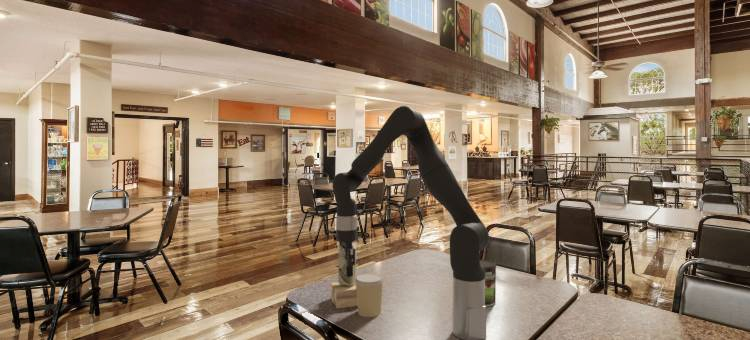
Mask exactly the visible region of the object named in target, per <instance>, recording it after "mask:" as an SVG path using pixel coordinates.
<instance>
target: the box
mask: <svg viewBox="0 0 750 340" xmlns="http://www.w3.org/2000/svg"><path fill="white" fill-rule="evenodd" d="M353 248H354V249H355V265H353V276H349V277H348V276H347V275H346V260H344V254H343V252H342V248H339V249H338V276H337V278H338V281H337V282H338V283H339V284H343V285H348V286H350V285H352V284H353V283H355V280H356V278H357V276H356V273H357V271H356V262H357V256H356V255H357V254H356V253H357V248H356V247H353ZM346 257H348V255H347V256H346ZM350 262H351V259H350Z"/></svg>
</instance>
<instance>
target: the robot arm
mask: <svg viewBox="0 0 750 340" xmlns="http://www.w3.org/2000/svg"><path fill="white" fill-rule="evenodd" d="M401 136H405V137H406V138H407V140H408V141H409V143H410V145H411V147H412V148H413V151H414V153H415V155H416V158H417V165H418V172H419V174H420V177H421V179H422V181H423V182H424V184H425V186H426V188H427V190H428V192H429V193H430V194H431V196H432V197H433V198H434V199H435V200H436V201H437V202H438V203H439V204H440V205H441V206H442V207H444V209H445V210H446V211H448V213H449V214H450V216H451V217H452V219H453V222H454V223H455V225H456V226H455V227H454V228H452V230H451V232H450V235H449V262H450V266H451V270H452V333H453V335H454V336H455V337H456V338H458V339H461V340H486V339H487V307H486V306H485V269H484V268H483V267H482V266H480V260H481V259H480V258H481V257H480V252H481V251H483V250H485V249H486V248H487V247H488V245H489V243H490V235H489V231H488V229H487V227H486V225H485V224H484V222H483V221H482V219H481V218H480V217H479V215H478V214H477V212H476V211H475V209H474V208H473V207H472V206H471V204H470V202H469V200H468V198H467V197H466V195H465V193H464V191H463V189H462V187H461V186H460V184H459V182H458V180H457V178H456V176H455V174H454V173H453V171H452V169H451V167H450V165H449V164H448V162H447V160H446V159H445V157H444V155H443V154H442V152H441V150H440V149H439V147H438V145H437V144H436V142H435V140H434V138H433V136H432V134H431V130H430V129H429V127H428V124H427V122H426V119H425V117H424V115H423V114H422V113H421V112H420V111H419V110H417V109H415V108H413V107H410V106H407V105H402V106H398V107H396V109H394V110H393V112H392V113H391V114H390V116H388V118H387V119H386V121H385V123H384V124H383V125H382V126H381V128H380V130H379V131H378V132H377V133H376V135H375V136H374V138H373V139H372V141H370V143H369V144H368V145H367V146H366V147H365V148H364V149H363V150H362V152H361V153H360V154H359V155H358V156H356V158H355V159H354V160H353V161H352V162H351V166H350V167H351V168H350V170H349V171H347V172H338V173H337V174H335V176H334V177H333V180H332V191H333V196H334V200H335V202H336V220H335V221H336V224H335V225H336V226H335V227H336V228H335V230H336V231H335V234H336V237H335V238H336V239H335V240H336V241H337V242H338V244H339V245H338V247H339V249H340V248H342V252H343V254H344V260H346V275H347V276H348V277H349V276H353V265H355V249H354V248H355V247H354V246H353V243H355V242H357V240H358V219H357V202H356V200H355V199H354V198H352V196H351V192H353V191H356V190H357V189H358V188H359V187H360V186H361V185H362V184H363V182H364V181H365V180H366V177H367V176H368V175H369V174H370V173H371V172H372V171H373V170H374V169H375V168H376V167H377V166H378V165H379V164H380V163H381V161H382V160H383V158H384V156H385V154H386V152H387V150H388V149H389V147H390V146H391V145H392V143H393V142H394V141H396V140H397V139H398V138H400V137H401ZM347 255H348V257H346V256H347ZM350 259H351V262H350Z"/></svg>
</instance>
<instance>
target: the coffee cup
mask: <svg viewBox="0 0 750 340" xmlns="http://www.w3.org/2000/svg"><path fill="white" fill-rule="evenodd" d="M355 281H356V291H357V305H358V306H357V313H358V315H359V316H361V317H363V318H374V317H378V316H380V315H381V312H382V301H383V283H384V278H383V277H382V276H381V275H380V274H377V273H362V274H360V275H357V276H356V278H355Z"/></svg>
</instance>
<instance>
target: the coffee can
mask: <svg viewBox="0 0 750 340" xmlns="http://www.w3.org/2000/svg"><path fill="white" fill-rule="evenodd" d="M480 266H482V267H483V268H484V269H485V306H486V308H487V307H492V306H495V305H496V288H497V287H496V278H497V277H496V276H497V273H496V272H497V263H496V262H494V261H491V260H487V259H480Z"/></svg>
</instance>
